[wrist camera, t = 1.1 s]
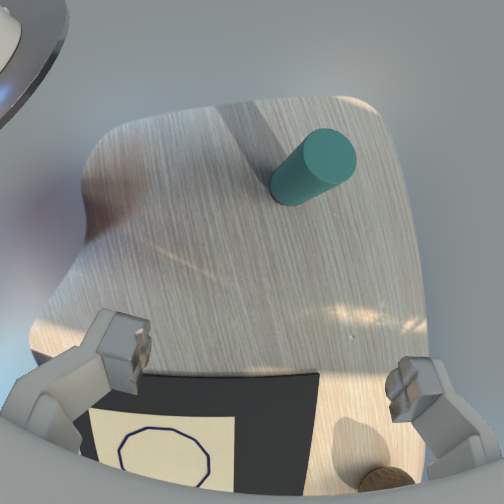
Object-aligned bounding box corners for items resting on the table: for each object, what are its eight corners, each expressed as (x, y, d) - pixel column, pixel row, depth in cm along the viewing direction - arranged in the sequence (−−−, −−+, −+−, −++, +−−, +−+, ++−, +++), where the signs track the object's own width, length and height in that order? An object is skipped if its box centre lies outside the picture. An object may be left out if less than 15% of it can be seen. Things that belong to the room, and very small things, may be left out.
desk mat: (99, 509, 23) (99, 512, 23) (66, 365, 24) (64, 367, 23) (298, 511, 27) (299, 514, 27) (318, 372, 28) (320, 374, 27)
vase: (405, 459, 30) (443, 491, 21) (379, 497, 29) (410, 532, 21) (368, 457, 29) (406, 496, 20) (340, 497, 28) (370, 539, 20)
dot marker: (265, 207, 27) (302, 180, 17) (266, 168, 27) (302, 123, 17) (304, 210, 28) (357, 187, 18) (304, 172, 28) (355, 133, 18)
